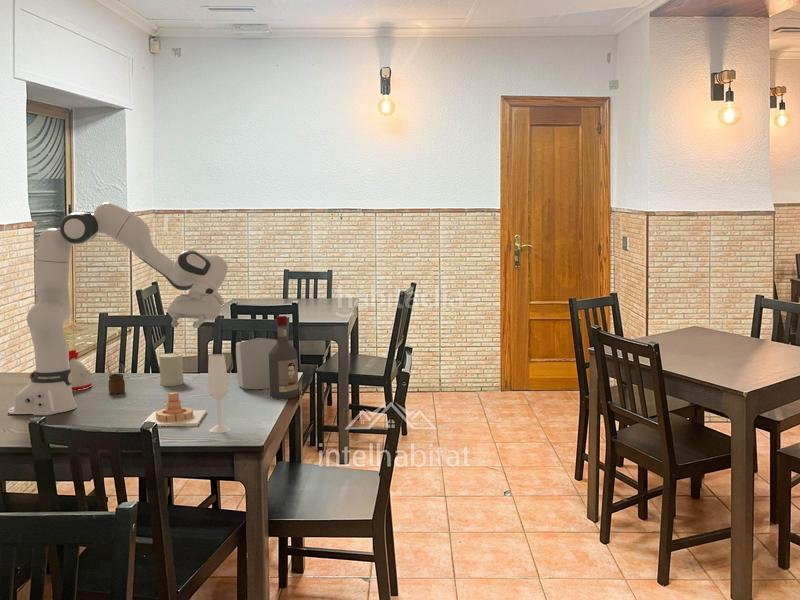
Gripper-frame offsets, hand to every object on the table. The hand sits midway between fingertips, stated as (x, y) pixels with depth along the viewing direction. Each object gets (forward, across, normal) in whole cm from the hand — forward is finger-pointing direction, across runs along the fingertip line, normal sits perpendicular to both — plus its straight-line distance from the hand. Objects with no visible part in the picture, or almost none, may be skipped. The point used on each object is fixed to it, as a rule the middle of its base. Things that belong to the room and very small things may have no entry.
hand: (184, 326), depth 309 cm
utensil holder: (+13, -44, +29) cm, 54 cm away
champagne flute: (+34, +28, +8) cm, 44 cm away
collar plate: (+30, +6, +11) cm, 33 cm away
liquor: (-1, +20, +42) cm, 47 cm away
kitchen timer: (+13, -68, +29) cm, 75 cm away
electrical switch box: (-9, -1, +51) cm, 52 cm away
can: (-2, -36, +44) cm, 57 cm away
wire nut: (+30, +6, +11) cm, 32 cm away
